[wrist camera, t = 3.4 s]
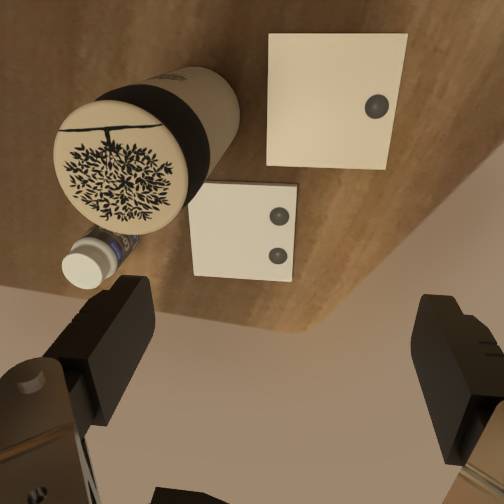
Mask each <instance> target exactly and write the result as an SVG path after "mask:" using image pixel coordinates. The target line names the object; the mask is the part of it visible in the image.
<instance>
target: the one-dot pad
mask: <svg viewBox="0 0 504 504" xmlns="http://www.w3.org/2000/svg"><path fill="white" fill-rule="evenodd" d="M407 38H408V34H406V33H397V34H269V46H268V105H267V164H266V166H292V167H321V168H349V169H377V170H386V164H387V158H388V152H389V146H390V140H391V134H392V128H393V122H394V116H395V110H396V104H397V98H398V92H399V86H400V80H401V74H402V68H403V62H404V56H405V50H406V44H407Z"/></svg>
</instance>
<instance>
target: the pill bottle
mask: <svg viewBox="0 0 504 504" xmlns="http://www.w3.org/2000/svg"><path fill="white" fill-rule="evenodd" d="M137 243H138V235H127V234H121V233H116V232H113V231H110V230H107V229H105V228H103V227H101V226H99V225H97V224H95V225H94V226H93V227H92V228H91V229H89V230H88V231H87V232H86V233H85V234H84V235H83V236H82V237H81V238H79V239H78V240H77V241H76V242H75V243H74V245H73V246H72V248H71V252H70V253H69V254H68V255H67V256H66V257H65V258H64V260H63V262H62V270H63V273H64V275H65V277H66V278H67V279H68V280H69V281H70V282H71V283H72V284H74V285H75V286H77V287H80V288H83V289H92V288H95V287H97V286H98V285H100V284H101V282H102V281H103V280H104V279H107V278H109V277H110V276H112V275H113V274H114V273H115V272H116V270H117V269H118V268H119V266H120V265H121V264H122V263H123V262H124V260H125V259H126V258H127V257H128V255H129V254H130V253H131V252H132V250H133V249H134V248H135V247H136V245H137Z"/></svg>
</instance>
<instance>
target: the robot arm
mask: <svg viewBox="0 0 504 504" xmlns="http://www.w3.org/2000/svg"><path fill="white" fill-rule="evenodd" d="M154 329H155V313H154V306H153V300H152V294H151V287H150V282H149V279H148V277H146V276H134V275H121V276H120V277H119V278H118V279H117V280H116V282H115V283H114V284H113V286H112V287H111V288H110V290H102V291H101V292H99V293H98V294H96V295H95V296H93V297H92V298H90V299H89V300H88V301H87V302H86V303H85V305H84V306H83V307H82V308H81V310H80V311H79V313H78V314H77V315H76V316H75V317H74V318H73V319H72V322H71V323H69V324H68V326H67V327H66V328H65V329H64V330H63V332H62V333H61V334H60V335H59V337H58V338H57V339H56V340H55V341H54V343H53V344H52V345H51V347H50V348H49V349H48V350H47V351H46V353H45V354H44V355H43V356H42V357H39V358H33V359H29V360H26V361H24V362H21V363H19V364H17V365H16V366H14V367H12V368H11V369H10V370H8V371H7V372H6V373H5V374H4V375H3V376H2V377H1V378H0V504H102V503H101V500H100V496H99V491H98V487H97V483H96V479H95V475H94V471H93V467H92V462H91V458H90V454H89V450H88V446H87V442H86V439H85V434H86V433H87V431H88V429H89V427H90V425H97V426H107V425H108V423H109V421H110V419H111V417H112V415H113V413H114V411H115V409H116V407H117V405H118V403H119V401H120V399H121V397H122V395H123V393H124V391H125V389H126V387H127V386H128V384H129V382H130V380H131V378H132V376H133V374H134V371H135V370H136V368H137V366H138V364H139V362H140V360H141V358H142V356H143V354H144V352H145V350H146V348H147V346H148V344H149V342H150V340H151V338H152V336H153V333H154ZM411 356H412V360H413V363H414V366H415V369H416V373H417V376H418V379H419V382H420V385H421V389H422V391H423V395H424V398H425V401H426V404H427V407H428V411H429V414H430V417H431V420H432V423H433V427H434V430H435V433H436V436H437V439H438V443H439V445H440V449H441V452H442V455H443V458H444V462H445V464H449V465H458V466H463V467H462V468H461V470H460V472H459V473H458V475H457V477H456V479H455V481H454V483H453V484H452V487H451V488H450V490H449V492H448V494H447V496H446V498H445V499H444V501H443V503H442V504H504V354H503V352H502V350H501V348H500V347H499V346H498V345H497V342H496V340H495V338H494V337H493V335H492V333H491V332H490V330H489V329H488V327H486V326H485V325H484V324H483V323H481V322H480V321H479V320H478V319H477V318H475V317H474V316H473V315H464V314H463V313H462V311H461V309H460V307H459V305H458V303H457V302H456V300H455V298H454V297H453V296H446V295H445V296H444V295H430V294H424V295H423V296H422V297H421V299H420V303H419V307H418V311H417V315H416V320H415V324H414V328H413V332H412V337H411ZM150 504H229V503H226V502H224V501H222V500H219V499H217V498H214V497H212V496H210V495H208V494H205V493H202V492H194V491H186V490H177V489H169V488H162V487H161V488H160V487H156V488H155V491H154V494H153V497H152V500H151V503H150Z"/></svg>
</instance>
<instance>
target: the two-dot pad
mask: <svg viewBox="0 0 504 504" xmlns="http://www.w3.org/2000/svg"><path fill="white" fill-rule="evenodd" d="M296 197H297V184H282V183H257V182H232V181H207V180H206V181H205V182H204V184H203V185H202V187H201V188H200V189H199V191H198V192H197V194H196V195H195V197H194V198H193V199H192V200H191V202H189V203H188V209H189V221H190V233H191V244H192V256H193V268H194V275H195V276H210V277H225V278H240V279H255V280H270V281H285V282H292V267H293V250H294V232H295V215H296Z"/></svg>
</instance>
